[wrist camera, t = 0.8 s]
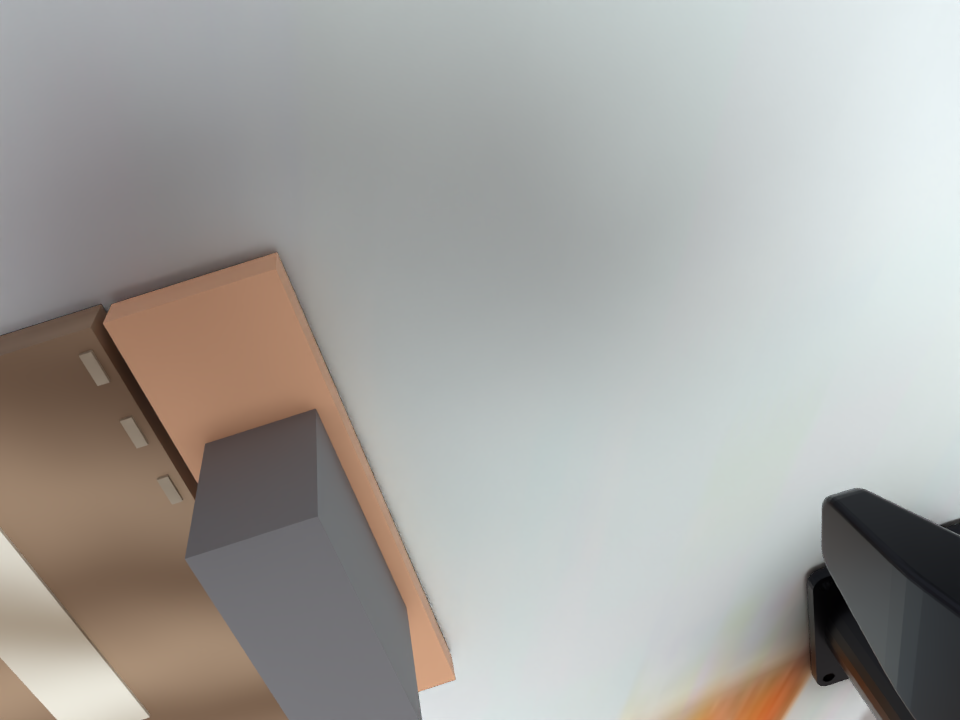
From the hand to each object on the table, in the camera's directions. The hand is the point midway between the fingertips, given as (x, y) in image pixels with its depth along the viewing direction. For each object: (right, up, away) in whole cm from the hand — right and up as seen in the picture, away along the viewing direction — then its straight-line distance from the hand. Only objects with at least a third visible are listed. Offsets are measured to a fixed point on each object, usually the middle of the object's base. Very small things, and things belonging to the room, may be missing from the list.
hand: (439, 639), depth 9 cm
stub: (-5, -1, +15) cm, 16 cm away
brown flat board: (-11, -3, +15) cm, 19 cm away
